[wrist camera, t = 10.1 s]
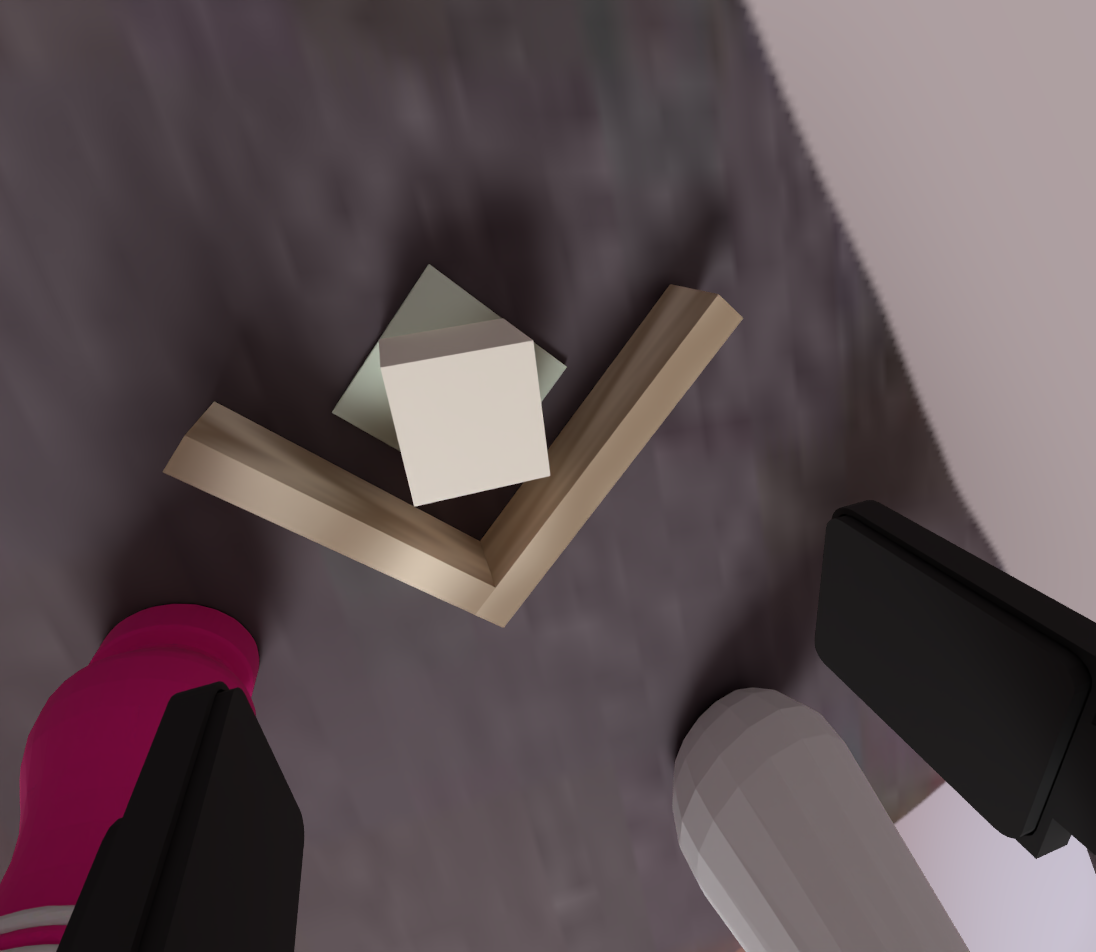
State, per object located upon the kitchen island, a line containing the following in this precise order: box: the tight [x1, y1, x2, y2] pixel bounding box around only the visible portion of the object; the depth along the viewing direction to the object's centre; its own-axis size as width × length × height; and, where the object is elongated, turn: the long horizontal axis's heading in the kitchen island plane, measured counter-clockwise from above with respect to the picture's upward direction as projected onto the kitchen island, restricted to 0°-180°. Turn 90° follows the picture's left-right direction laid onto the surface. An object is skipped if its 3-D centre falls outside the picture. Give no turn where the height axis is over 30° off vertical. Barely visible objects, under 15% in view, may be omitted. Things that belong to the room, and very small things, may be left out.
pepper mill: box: [0, 604, 259, 952], centre depth 17 cm, size 7×7×20 cm
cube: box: [379, 318, 550, 507], centre depth 22 cm, size 5×5×5 cm
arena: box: [163, 264, 743, 628], centre depth 23 cm, size 14×16×4 cm
